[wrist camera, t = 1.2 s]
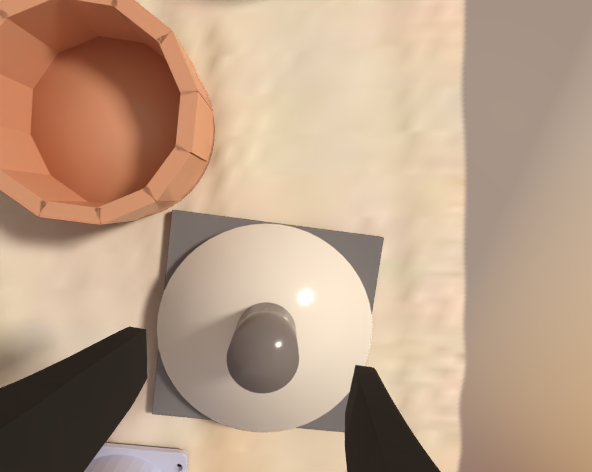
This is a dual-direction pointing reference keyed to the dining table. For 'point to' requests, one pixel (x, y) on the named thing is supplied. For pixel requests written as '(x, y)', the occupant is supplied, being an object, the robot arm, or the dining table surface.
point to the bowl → (98, 111)
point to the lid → (264, 327)
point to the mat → (201, 227)
